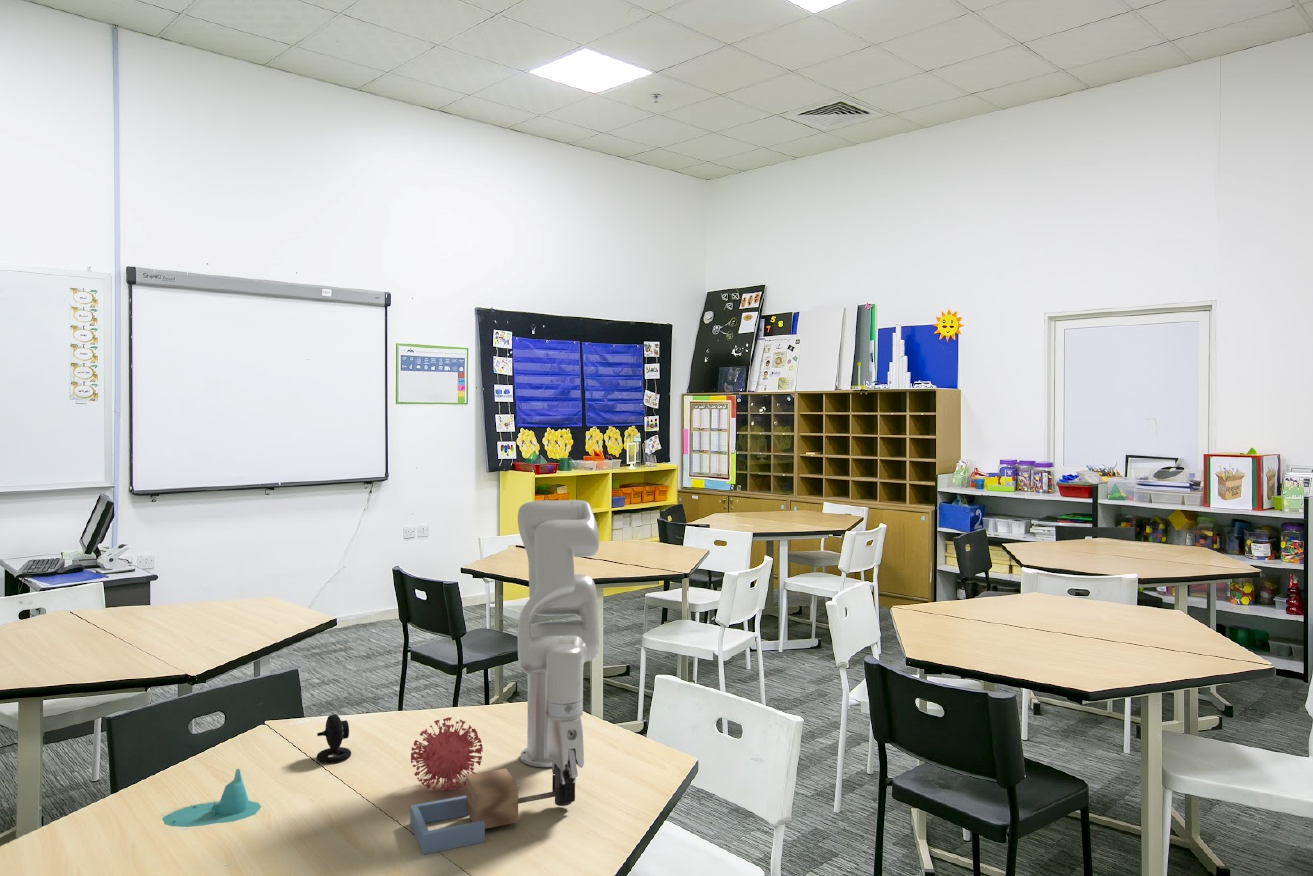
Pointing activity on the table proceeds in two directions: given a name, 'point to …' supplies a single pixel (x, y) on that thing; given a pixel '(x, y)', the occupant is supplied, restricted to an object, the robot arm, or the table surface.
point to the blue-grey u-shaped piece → (444, 836)
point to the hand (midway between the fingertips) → (563, 797)
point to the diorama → (217, 808)
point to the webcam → (334, 740)
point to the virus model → (446, 755)
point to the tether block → (500, 797)
